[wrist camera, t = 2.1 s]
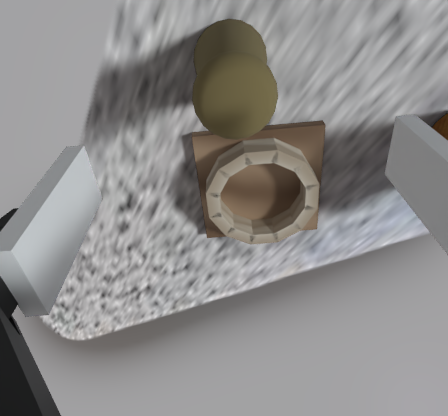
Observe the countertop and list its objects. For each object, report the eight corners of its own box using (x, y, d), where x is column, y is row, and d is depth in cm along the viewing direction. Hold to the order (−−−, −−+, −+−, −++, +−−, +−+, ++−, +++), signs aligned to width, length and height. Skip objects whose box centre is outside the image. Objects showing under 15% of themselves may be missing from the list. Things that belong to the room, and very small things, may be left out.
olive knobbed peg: (275, 81, 30) (299, 135, 21) (209, 106, 32) (207, 166, 23) (254, 5, 27) (272, 31, 18) (181, 36, 28) (164, 74, 19)
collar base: (192, 132, 33) (189, 149, 30) (322, 120, 32) (332, 136, 30) (207, 232, 40) (206, 253, 37) (314, 223, 39) (322, 244, 37)
